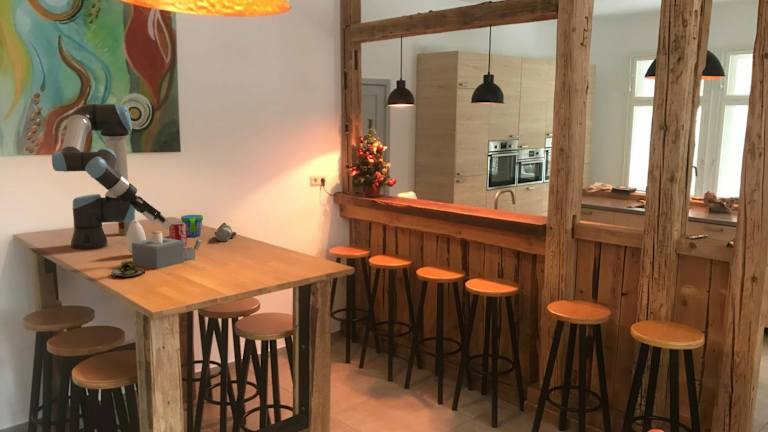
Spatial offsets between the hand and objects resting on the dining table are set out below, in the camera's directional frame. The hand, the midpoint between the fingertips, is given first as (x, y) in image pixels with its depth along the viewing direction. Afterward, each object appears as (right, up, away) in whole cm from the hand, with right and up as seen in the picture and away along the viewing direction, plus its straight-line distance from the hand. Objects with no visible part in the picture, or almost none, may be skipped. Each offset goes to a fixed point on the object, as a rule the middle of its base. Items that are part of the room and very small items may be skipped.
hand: (162, 223), depth 247 cm
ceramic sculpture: (+12, -9, +51) cm, 53 cm away
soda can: (-1, -13, +23) cm, 26 cm away
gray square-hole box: (-2, -16, +1) cm, 16 cm away
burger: (-7, -20, -17) cm, 27 cm away
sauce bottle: (-16, -14, +14) cm, 26 cm away
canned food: (-40, -6, +60) cm, 73 cm away
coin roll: (-2, -15, +1) cm, 15 cm away
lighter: (+9, -15, +10) cm, 20 cm away
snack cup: (-6, -7, +58) cm, 59 cm away
